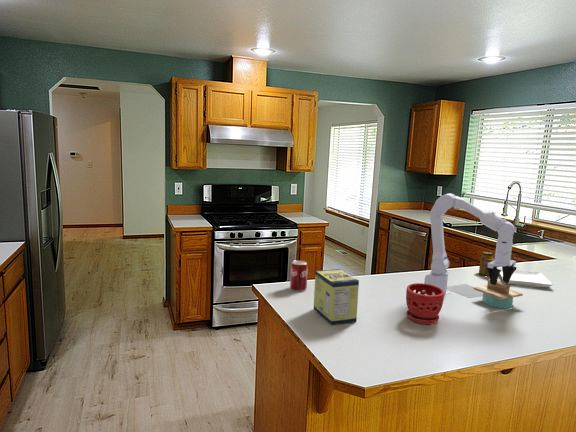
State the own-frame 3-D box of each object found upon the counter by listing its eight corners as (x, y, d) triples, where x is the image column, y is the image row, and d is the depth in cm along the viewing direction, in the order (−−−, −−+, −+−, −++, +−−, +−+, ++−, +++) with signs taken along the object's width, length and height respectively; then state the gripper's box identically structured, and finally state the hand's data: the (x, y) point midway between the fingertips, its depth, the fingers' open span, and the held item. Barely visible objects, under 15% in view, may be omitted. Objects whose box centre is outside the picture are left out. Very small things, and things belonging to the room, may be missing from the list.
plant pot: (397, 314, 156) (399, 284, 154) (425, 311, 160) (428, 281, 158) (419, 329, 144) (422, 296, 142) (449, 324, 148) (452, 292, 146)
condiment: (494, 275, 214) (497, 253, 212) (488, 278, 208) (490, 255, 206) (480, 272, 219) (482, 250, 217) (473, 275, 213) (476, 252, 211)
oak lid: (501, 299, 162) (502, 289, 161) (473, 289, 174) (474, 279, 173) (522, 295, 168) (523, 285, 167) (494, 285, 179) (495, 276, 179)
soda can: (307, 286, 184) (308, 260, 182) (306, 292, 177) (307, 265, 175) (290, 285, 184) (291, 259, 183) (289, 291, 177) (290, 264, 175)
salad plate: (502, 285, 198) (503, 278, 198) (494, 273, 218) (495, 267, 218) (552, 291, 192) (553, 284, 192) (539, 278, 213) (540, 272, 212)
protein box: (336, 306, 162) (339, 268, 159) (357, 322, 147) (360, 280, 145) (312, 309, 158) (314, 270, 155) (331, 325, 144) (333, 282, 141)
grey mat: (469, 299, 176) (469, 298, 176) (442, 288, 189) (442, 287, 189) (493, 295, 182) (493, 294, 182) (465, 284, 196) (465, 283, 196)
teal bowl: (499, 310, 164) (501, 298, 163) (476, 301, 174) (477, 290, 173) (518, 307, 169) (519, 295, 168) (494, 298, 178) (495, 287, 178)
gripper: (500, 255, 161) (496, 288, 163) (524, 252, 167) (519, 284, 169) (484, 250, 167) (480, 283, 169) (508, 248, 173) (504, 279, 176)
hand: (499, 283), depth 170 cm, fingers open, 7 cm apart
